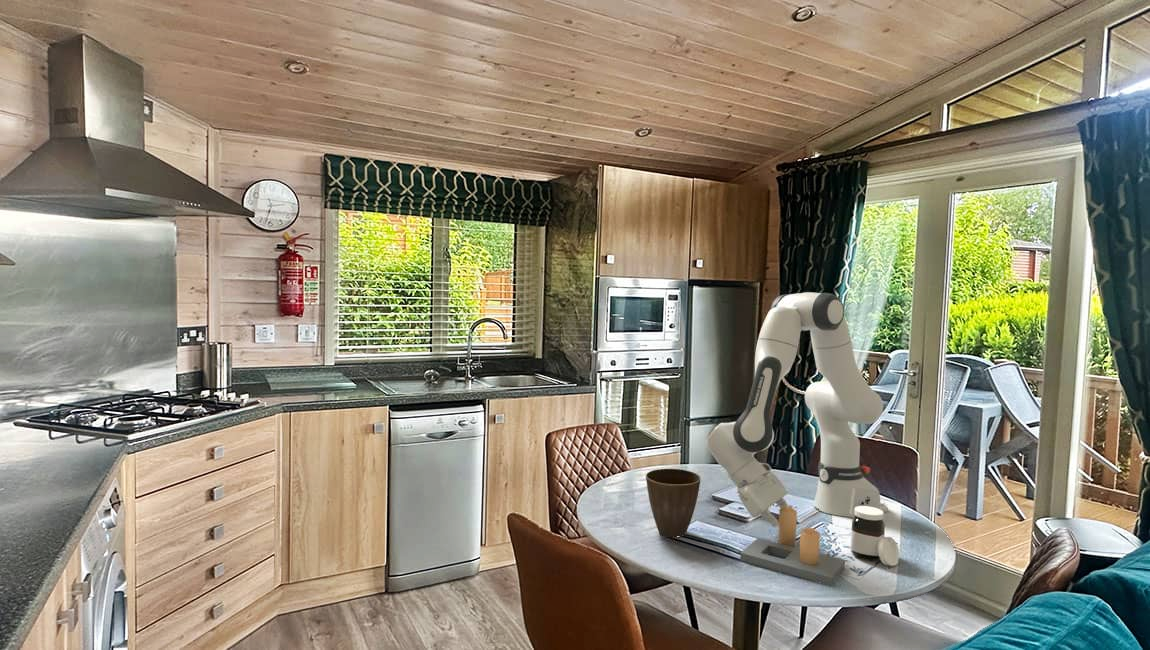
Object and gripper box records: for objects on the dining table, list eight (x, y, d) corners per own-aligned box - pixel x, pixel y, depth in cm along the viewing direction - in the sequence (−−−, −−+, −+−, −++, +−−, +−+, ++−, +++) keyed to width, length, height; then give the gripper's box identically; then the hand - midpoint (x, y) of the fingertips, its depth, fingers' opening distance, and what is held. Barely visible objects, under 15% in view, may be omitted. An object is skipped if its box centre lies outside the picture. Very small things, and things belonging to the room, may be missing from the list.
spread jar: (853, 544, 173) (855, 502, 172) (900, 554, 167) (902, 510, 167) (846, 560, 163) (849, 515, 162) (897, 571, 157) (899, 524, 156)
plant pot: (669, 548, 169) (670, 487, 168) (633, 529, 181) (634, 473, 180) (710, 536, 177) (712, 479, 176) (673, 519, 189) (675, 465, 188)
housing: (740, 560, 162) (741, 521, 161) (757, 545, 171) (758, 508, 171) (831, 586, 149) (833, 543, 148) (844, 568, 158) (846, 528, 158)
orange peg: (788, 539, 176) (789, 503, 175) (799, 546, 171) (800, 509, 171) (774, 541, 174) (776, 505, 173) (785, 548, 170) (786, 510, 169)
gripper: (743, 479, 168) (778, 525, 163) (770, 462, 185) (803, 503, 180) (726, 492, 171) (760, 538, 166) (754, 475, 188) (787, 515, 183)
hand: (783, 520), depth 173 cm, fingers open, 8 cm apart
